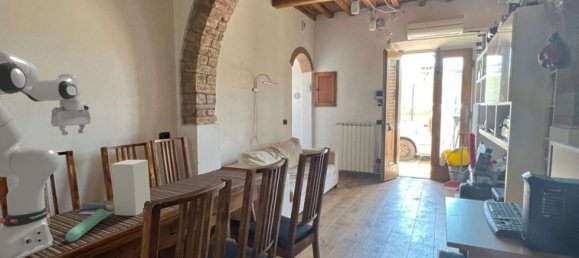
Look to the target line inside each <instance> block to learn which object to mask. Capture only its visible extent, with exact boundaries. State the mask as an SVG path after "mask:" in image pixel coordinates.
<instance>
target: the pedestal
mask: <svg viewBox="0 0 579 258" xmlns="http://www.w3.org/2000/svg"><path fill="white" fill-rule="evenodd" d="M110 170H111V182H112V195H113V197H112V199H113V203H114V216H132V217H133V216H135V217H136V216H138V215H140V214H142V213H143V208H144V203H145V202H146V201H150V202H151V191H150V190H151V189H150V174H149V173H150V172H149V161H148V159H126V160H125V159H124V160H122V161H118V162H114V163H112V164H110Z"/></svg>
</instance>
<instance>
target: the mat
mask: <svg viewBox="0 0 579 258" xmlns="http://www.w3.org/2000/svg"><path fill="white" fill-rule="evenodd" d="M95 211H96V210H82V211H80V212H78V213H77V215H81V216H83V215H84V216H91V215H92V214H94V213H95ZM105 211H106V212H107V217H108V216H112V215H115V213H114V211H107V210H105Z"/></svg>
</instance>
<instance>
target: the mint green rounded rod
mask: <svg viewBox="0 0 579 258" xmlns="http://www.w3.org/2000/svg"><path fill="white" fill-rule="evenodd" d="M107 217H108V216H107V212H106V211H105V210H104V209H98V210H96V211H95V213H94V214H92V215H88V217H86V218H85V219H84V220H82V221H81V222H79V223H78V224H77V225H75V226H73V228H71V229H69V230H68V231H67V233H65V240H66V241H67V242H76V241H77V240H79V239H80V238H82V236H84V235H85V234H86V233H88V232H89V231H90V230H92V229H93V228H94V227H95V226H97V225H98V224H99V223H100V222H101V221H104V220H106V218H107Z"/></svg>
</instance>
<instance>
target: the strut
mask: <svg viewBox="0 0 579 258" xmlns="http://www.w3.org/2000/svg"><path fill="white" fill-rule="evenodd" d="M81 208H82V209H81V210H82V211H85V210H98V209H104V210H107V211H114V202H89V201H88V202H84V203H81Z"/></svg>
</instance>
